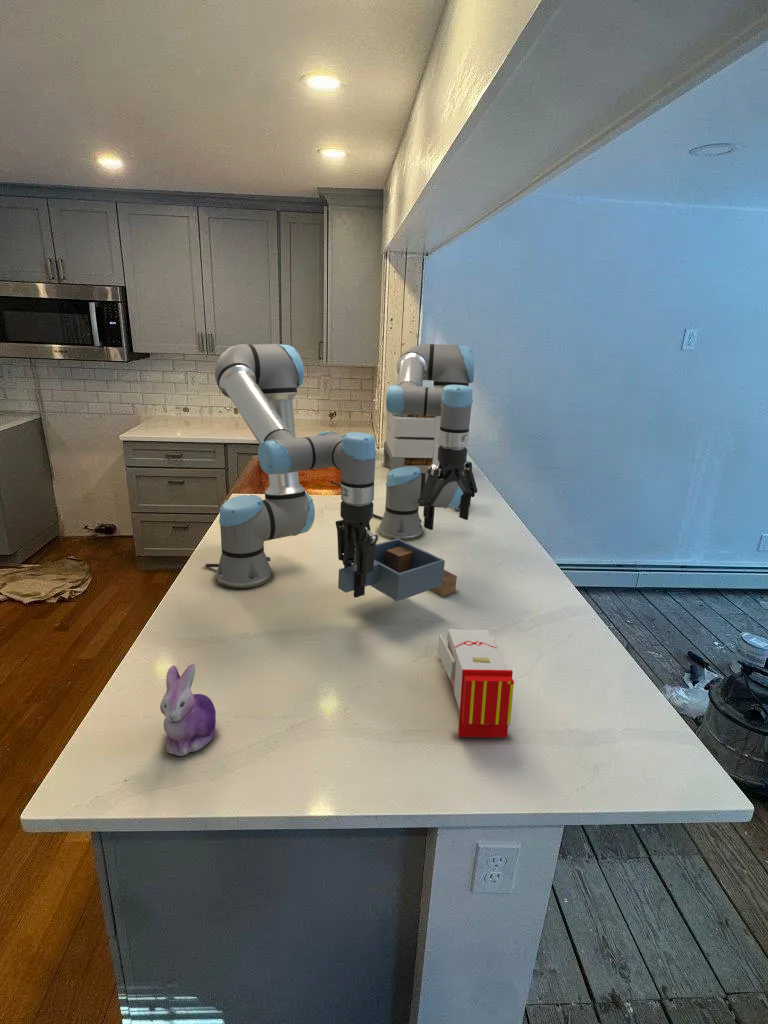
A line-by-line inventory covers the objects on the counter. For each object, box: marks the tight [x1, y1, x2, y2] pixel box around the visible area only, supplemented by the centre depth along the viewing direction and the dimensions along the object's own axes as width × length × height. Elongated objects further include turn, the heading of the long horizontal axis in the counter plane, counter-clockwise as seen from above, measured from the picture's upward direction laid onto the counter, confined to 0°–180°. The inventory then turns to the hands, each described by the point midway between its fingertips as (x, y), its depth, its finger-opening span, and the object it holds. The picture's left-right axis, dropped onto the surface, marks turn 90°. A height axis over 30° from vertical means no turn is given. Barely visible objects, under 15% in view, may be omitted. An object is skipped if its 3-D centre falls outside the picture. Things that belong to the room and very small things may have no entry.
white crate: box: [383, 411, 436, 472], centre depth 268 cm, size 34×33×41 cm
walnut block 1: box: [385, 546, 413, 573], centre depth 151 cm, size 5×5×5 cm
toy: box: [437, 628, 515, 738], centre depth 117 cm, size 12×13×30 cm
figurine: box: [159, 663, 217, 757], centre depth 100 cm, size 9×10×15 cm
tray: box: [337, 538, 446, 602], centre depth 142 cm, size 18×26×7 cm
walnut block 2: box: [430, 569, 458, 598], centre depth 160 cm, size 5×5×5 cm
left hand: (354, 592), depth 138 cm, fingers closed on tray, 3 cm apart
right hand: (446, 523), depth 154 cm, fingers open, 13 cm apart
